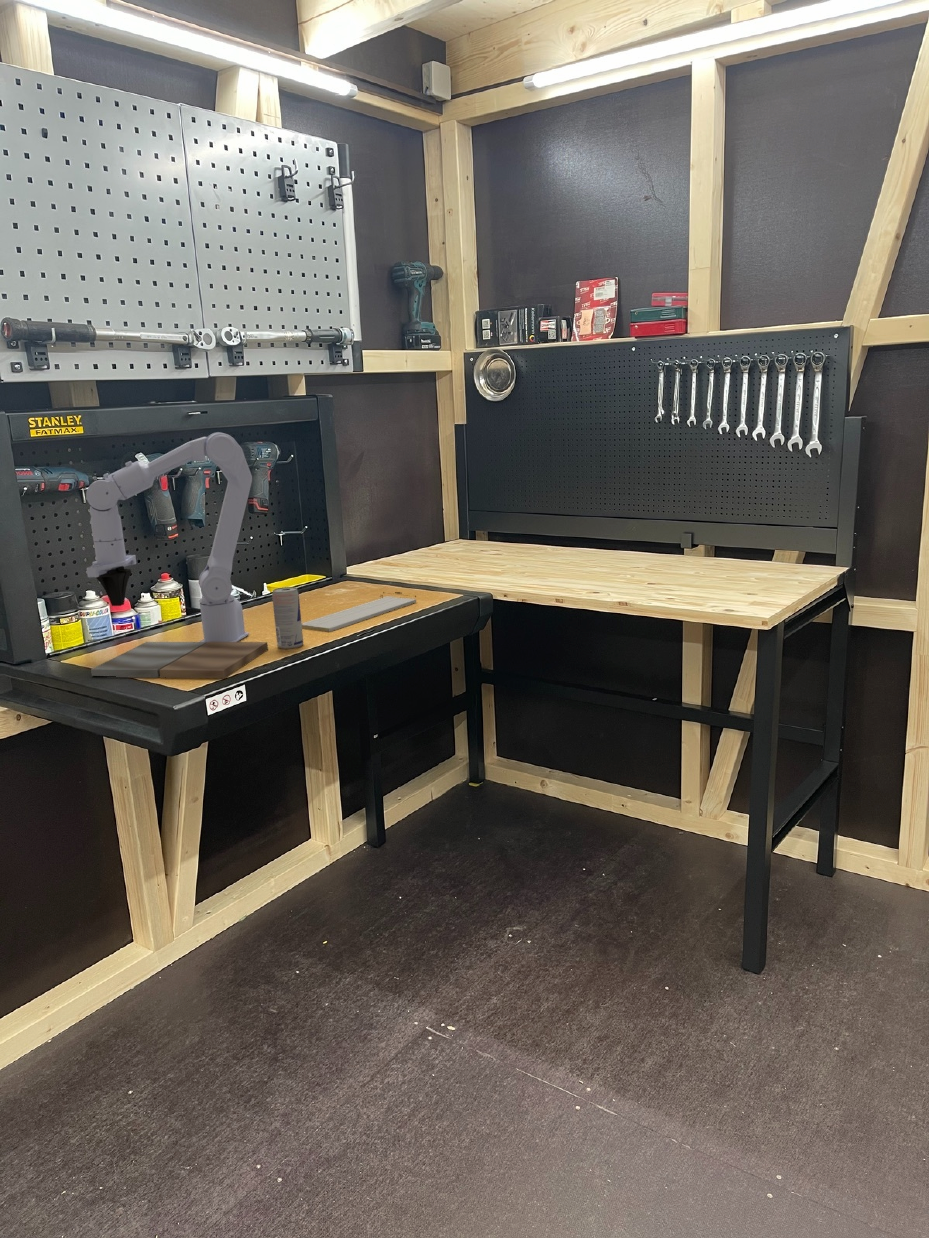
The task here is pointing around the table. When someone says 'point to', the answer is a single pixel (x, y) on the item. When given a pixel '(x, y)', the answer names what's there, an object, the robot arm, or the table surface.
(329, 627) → the baseboard molding
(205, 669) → the laid board
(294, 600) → the energy drink
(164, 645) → the plank
